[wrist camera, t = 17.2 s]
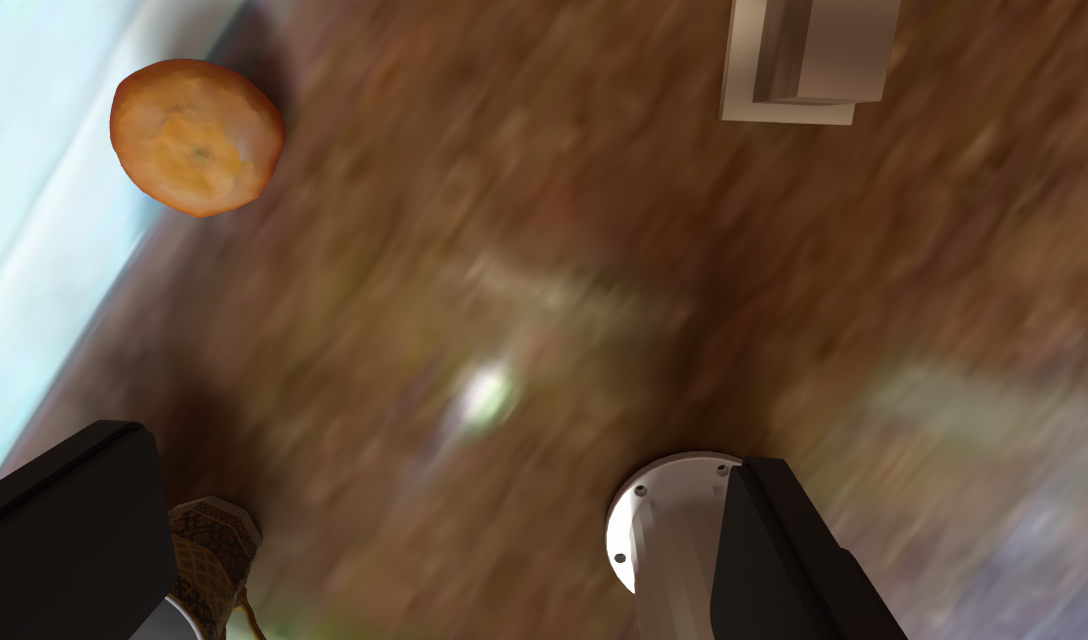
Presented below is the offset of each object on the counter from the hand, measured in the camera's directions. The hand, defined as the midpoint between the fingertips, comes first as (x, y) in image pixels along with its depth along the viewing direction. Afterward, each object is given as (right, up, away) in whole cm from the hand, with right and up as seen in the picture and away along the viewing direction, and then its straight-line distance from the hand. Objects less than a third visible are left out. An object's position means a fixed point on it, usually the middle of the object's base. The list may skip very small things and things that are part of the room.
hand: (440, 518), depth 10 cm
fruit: (-17, +14, +26) cm, 34 cm away
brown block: (+15, +21, +21) cm, 34 cm away
